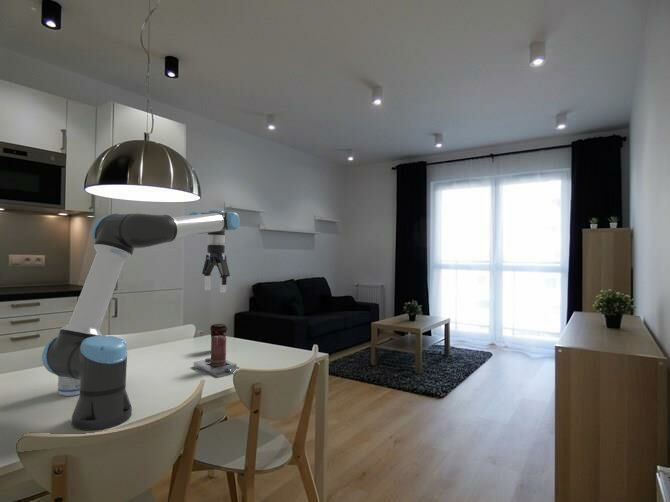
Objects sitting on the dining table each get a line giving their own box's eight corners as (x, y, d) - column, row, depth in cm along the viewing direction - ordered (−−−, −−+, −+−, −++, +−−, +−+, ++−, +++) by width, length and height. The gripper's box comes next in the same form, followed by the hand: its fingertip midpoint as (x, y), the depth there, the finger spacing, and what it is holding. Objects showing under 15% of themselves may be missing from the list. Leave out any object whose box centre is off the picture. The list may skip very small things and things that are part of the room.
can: (210, 371, 162) (211, 337, 163) (210, 367, 169) (211, 334, 169) (225, 370, 164) (226, 337, 164) (225, 366, 170) (226, 334, 170)
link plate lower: (217, 377, 155) (217, 373, 155) (199, 369, 165) (199, 365, 165) (243, 371, 164) (243, 367, 164) (225, 364, 174) (225, 360, 174)
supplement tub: (68, 387, 141) (69, 346, 141) (95, 387, 141) (97, 346, 142) (51, 397, 131) (52, 353, 131) (81, 396, 132) (82, 352, 132)
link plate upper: (210, 374, 159) (210, 368, 159) (193, 366, 169) (193, 360, 169) (236, 368, 167) (236, 362, 167) (218, 361, 177) (218, 355, 177)
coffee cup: (205, 351, 194) (206, 325, 194) (215, 348, 202) (216, 322, 202) (220, 353, 192) (221, 326, 192) (230, 349, 200) (230, 324, 200)
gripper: (238, 244, 173) (237, 292, 173) (210, 244, 190) (208, 288, 190) (223, 244, 168) (222, 293, 168) (195, 244, 185) (194, 289, 185)
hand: (215, 291), depth 179 cm, fingers open, 13 cm apart
